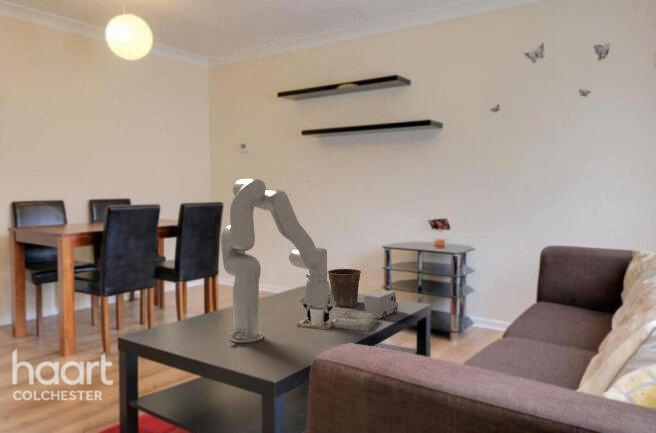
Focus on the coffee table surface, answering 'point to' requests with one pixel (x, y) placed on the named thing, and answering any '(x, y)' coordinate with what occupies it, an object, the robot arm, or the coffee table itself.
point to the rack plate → (356, 320)
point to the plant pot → (344, 286)
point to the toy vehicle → (381, 303)
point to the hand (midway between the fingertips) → (318, 320)
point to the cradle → (301, 324)
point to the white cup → (317, 315)
